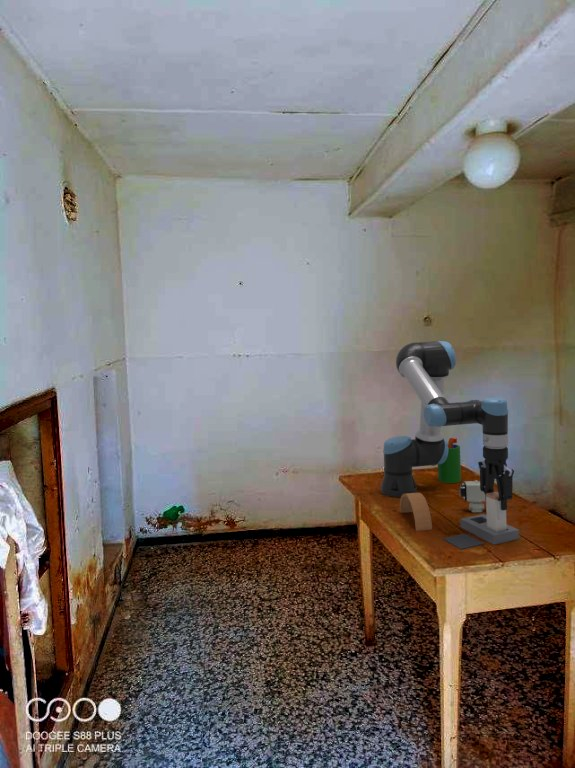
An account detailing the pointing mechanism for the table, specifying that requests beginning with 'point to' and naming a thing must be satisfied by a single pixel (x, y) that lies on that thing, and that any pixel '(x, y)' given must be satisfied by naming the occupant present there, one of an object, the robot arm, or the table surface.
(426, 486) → the table surface
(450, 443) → the green tall piece
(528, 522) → the table surface
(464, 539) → the mat
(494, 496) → the plug
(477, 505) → the pneumatic valve
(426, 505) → the arch
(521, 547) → the table surface
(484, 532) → the grey boxy piece
